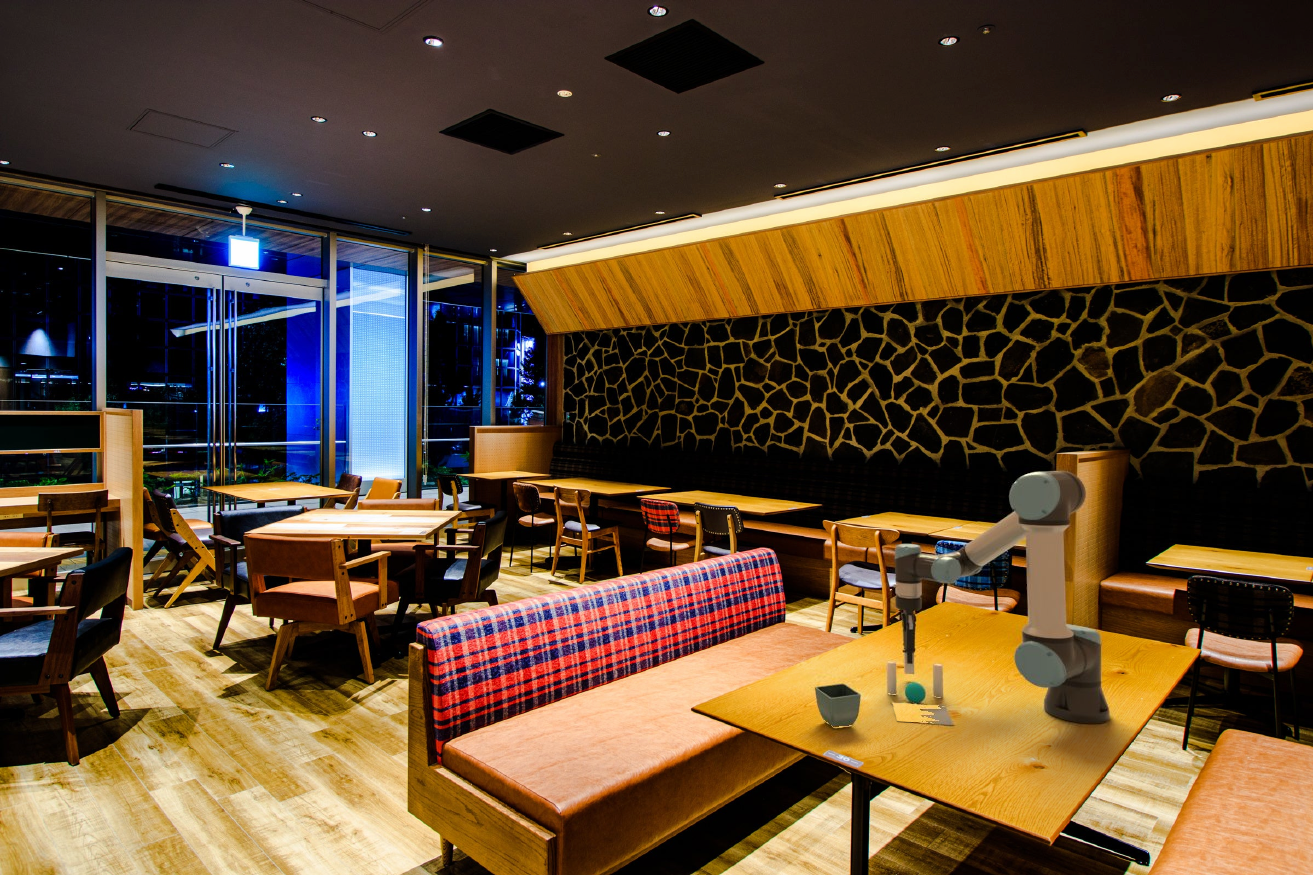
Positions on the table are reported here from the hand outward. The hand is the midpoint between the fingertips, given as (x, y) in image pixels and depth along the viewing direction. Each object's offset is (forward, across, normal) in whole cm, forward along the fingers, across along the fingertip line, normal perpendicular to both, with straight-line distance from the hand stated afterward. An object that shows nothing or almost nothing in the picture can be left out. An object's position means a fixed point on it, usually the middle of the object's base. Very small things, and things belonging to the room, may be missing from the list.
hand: (909, 672), depth 220 cm
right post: (+2, +13, +6) cm, 15 cm away
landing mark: (+2, +27, 0) cm, 27 cm away
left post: (+2, +13, -6) cm, 15 cm away
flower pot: (+2, +39, -22) cm, 45 cm away
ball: (0, +19, -1) cm, 19 cm away
